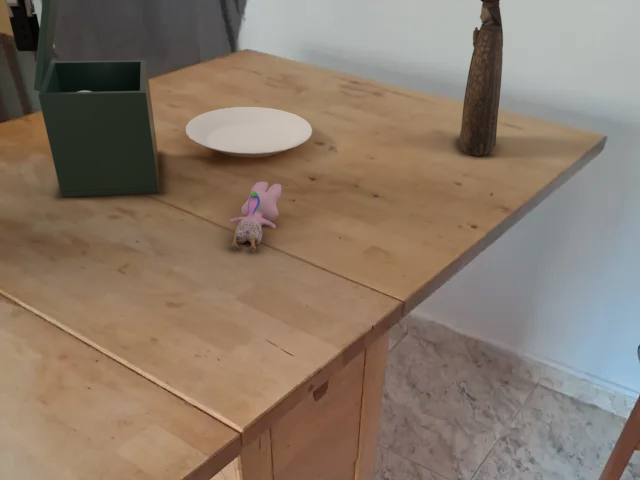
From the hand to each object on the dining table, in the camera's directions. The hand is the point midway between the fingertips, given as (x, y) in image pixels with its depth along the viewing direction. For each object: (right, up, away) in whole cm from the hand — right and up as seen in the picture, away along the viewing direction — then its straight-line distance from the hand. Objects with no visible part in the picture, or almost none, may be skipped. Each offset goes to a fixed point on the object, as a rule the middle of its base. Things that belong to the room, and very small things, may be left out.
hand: (30, 49), depth 91 cm
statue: (+65, -2, +27) cm, 70 cm away
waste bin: (+7, -12, +13) cm, 19 cm away
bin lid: (+4, +3, -2) cm, 5 cm away
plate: (+27, -2, +24) cm, 36 cm away
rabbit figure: (+30, -23, +3) cm, 38 cm away
